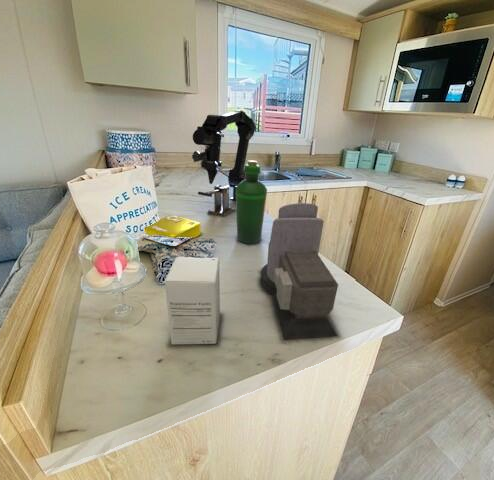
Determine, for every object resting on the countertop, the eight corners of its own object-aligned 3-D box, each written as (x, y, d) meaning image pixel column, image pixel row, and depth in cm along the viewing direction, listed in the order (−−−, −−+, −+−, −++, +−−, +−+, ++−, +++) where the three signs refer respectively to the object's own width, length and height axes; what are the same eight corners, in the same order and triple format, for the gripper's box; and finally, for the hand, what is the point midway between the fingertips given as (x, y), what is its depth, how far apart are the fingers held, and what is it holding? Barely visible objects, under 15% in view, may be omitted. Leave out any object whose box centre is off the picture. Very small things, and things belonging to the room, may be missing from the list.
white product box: (180, 314, 62) (175, 255, 55) (220, 314, 62) (220, 256, 56) (169, 345, 53) (162, 280, 47) (216, 345, 54) (215, 281, 48)
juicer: (256, 266, 83) (261, 187, 73) (307, 265, 86) (318, 188, 76) (274, 340, 57) (285, 231, 46) (346, 335, 60) (371, 231, 49)
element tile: (140, 237, 95) (138, 225, 93) (172, 224, 107) (171, 213, 105) (174, 248, 90) (173, 235, 88) (203, 233, 102) (202, 221, 100)
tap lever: (210, 198, 109) (210, 192, 108) (197, 196, 111) (197, 190, 110) (229, 193, 122) (229, 188, 121) (217, 191, 124) (217, 186, 123)
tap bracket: (223, 216, 120) (223, 190, 115) (208, 213, 123) (207, 187, 118) (234, 210, 129) (235, 185, 124) (220, 207, 131) (219, 182, 126)
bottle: (268, 237, 103) (274, 161, 91) (255, 248, 94) (259, 165, 82) (243, 231, 107) (246, 157, 95) (228, 241, 98) (229, 160, 86)
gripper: (198, 144, 125) (196, 179, 129) (189, 143, 107) (187, 183, 112) (223, 148, 126) (220, 182, 130) (218, 147, 108) (214, 187, 113)
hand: (210, 183), depth 121 cm, fingers closed
